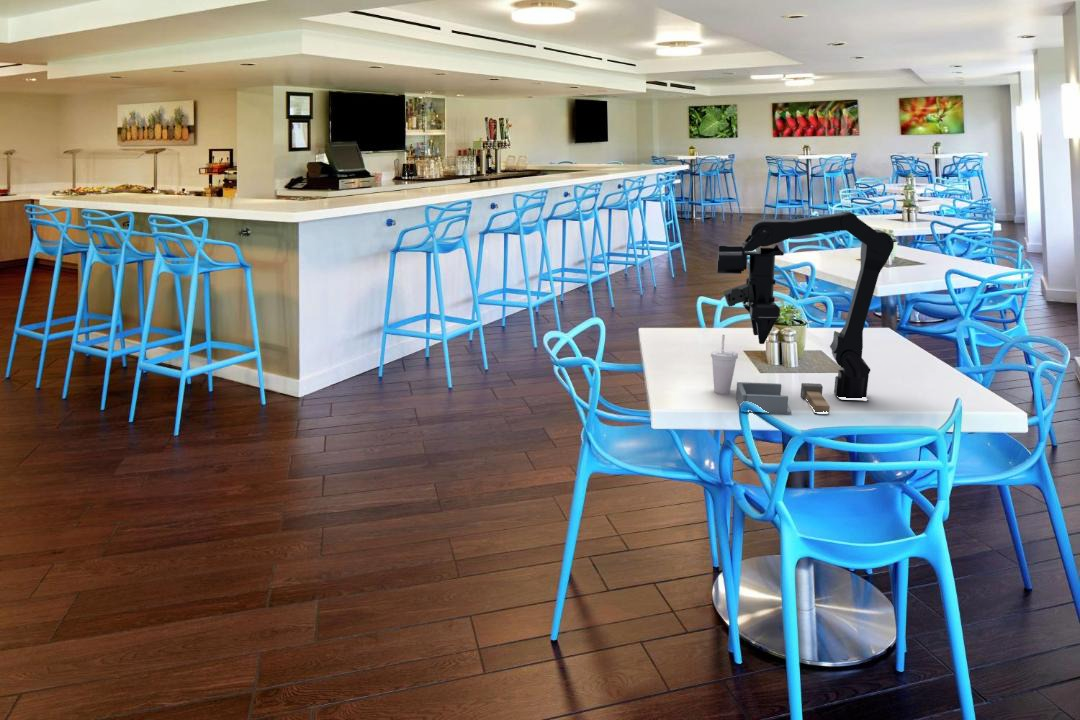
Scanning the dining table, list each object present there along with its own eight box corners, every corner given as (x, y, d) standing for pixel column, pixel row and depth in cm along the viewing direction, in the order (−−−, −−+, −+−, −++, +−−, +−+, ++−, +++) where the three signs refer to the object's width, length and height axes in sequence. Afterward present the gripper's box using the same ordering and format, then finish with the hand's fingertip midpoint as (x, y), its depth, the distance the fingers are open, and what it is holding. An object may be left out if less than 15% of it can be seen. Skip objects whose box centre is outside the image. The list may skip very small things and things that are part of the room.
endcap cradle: (783, 400, 199) (785, 383, 198) (791, 414, 189) (792, 397, 188) (736, 398, 200) (737, 382, 199) (741, 412, 190) (742, 395, 189)
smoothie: (716, 386, 210) (719, 331, 206) (740, 391, 206) (744, 334, 203) (703, 392, 205) (707, 335, 202) (728, 397, 201) (731, 339, 198)
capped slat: (800, 395, 203) (801, 383, 202) (819, 396, 202) (820, 383, 201) (811, 414, 189) (813, 400, 189) (832, 415, 189) (833, 401, 188)
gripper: (722, 268, 208) (720, 330, 212) (731, 281, 190) (728, 348, 194) (768, 268, 207) (765, 330, 211) (782, 280, 189) (778, 348, 193)
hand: (758, 339), depth 202 cm, fingers open, 9 cm apart
